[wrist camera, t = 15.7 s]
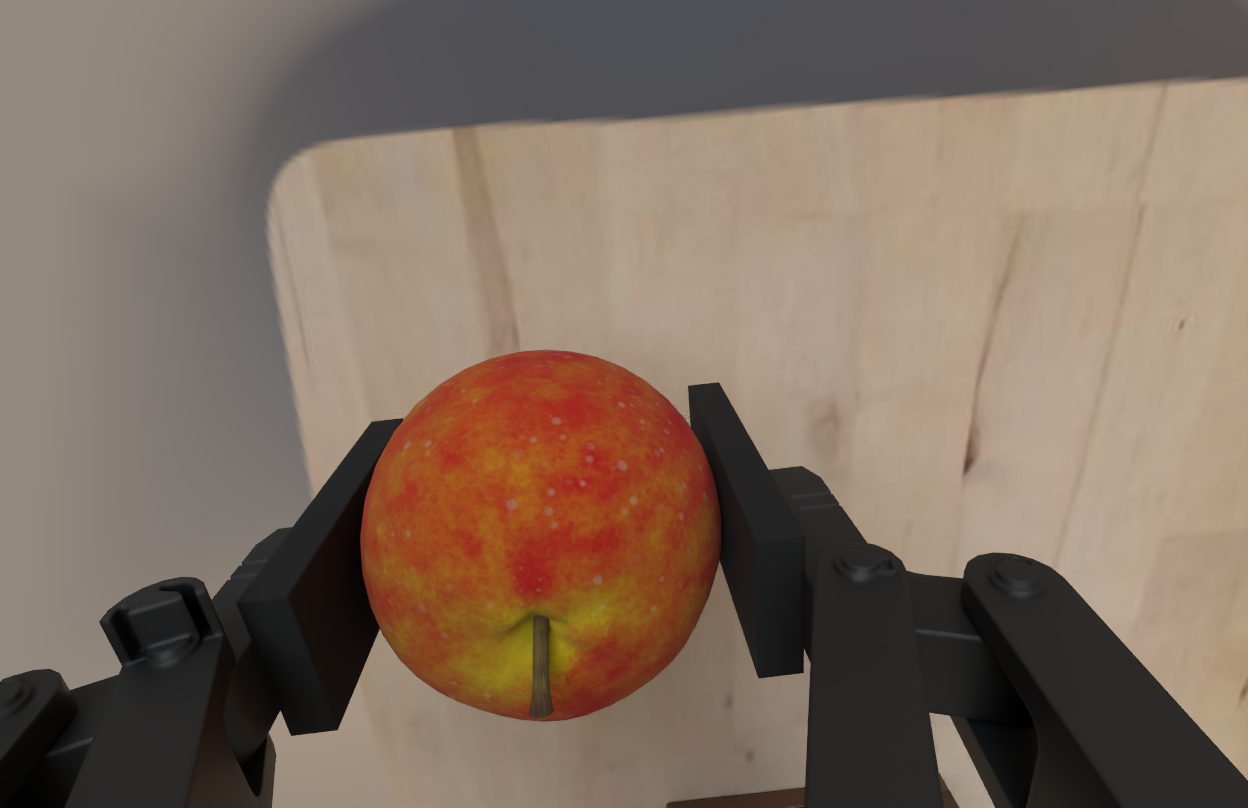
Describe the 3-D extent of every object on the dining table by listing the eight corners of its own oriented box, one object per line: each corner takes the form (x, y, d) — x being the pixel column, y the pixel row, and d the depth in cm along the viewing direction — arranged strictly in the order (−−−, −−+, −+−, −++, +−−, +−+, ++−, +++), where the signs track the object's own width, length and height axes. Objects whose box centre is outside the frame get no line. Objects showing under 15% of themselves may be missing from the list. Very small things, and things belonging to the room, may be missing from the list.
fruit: (378, 336, 15) (177, 529, 7) (674, 291, 15) (768, 438, 7) (451, 579, 17) (356, 898, 10) (702, 539, 17) (791, 829, 10)
